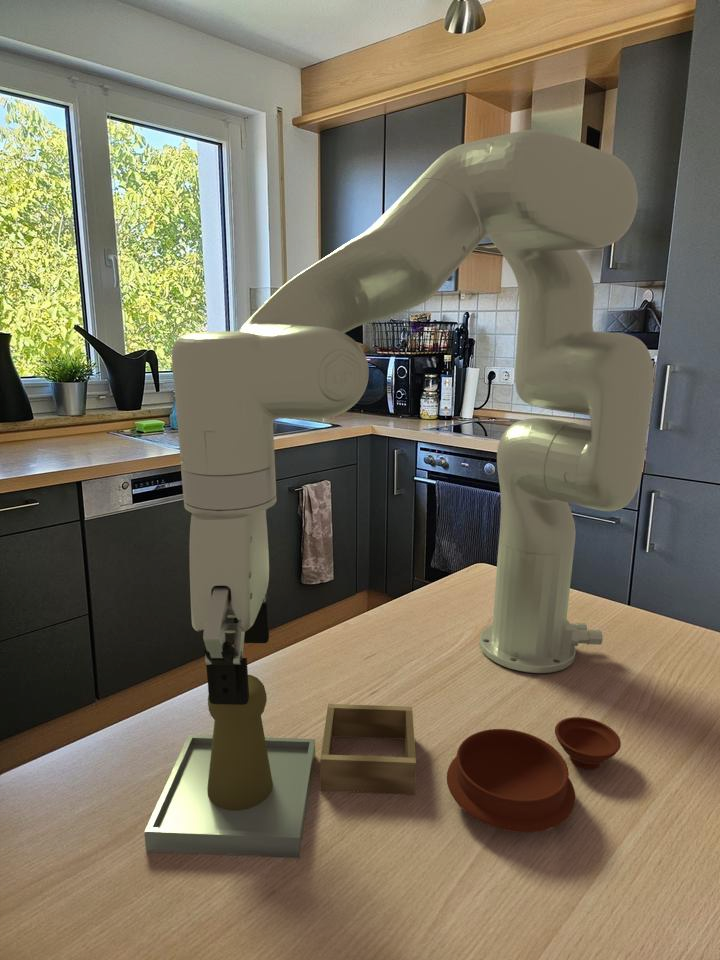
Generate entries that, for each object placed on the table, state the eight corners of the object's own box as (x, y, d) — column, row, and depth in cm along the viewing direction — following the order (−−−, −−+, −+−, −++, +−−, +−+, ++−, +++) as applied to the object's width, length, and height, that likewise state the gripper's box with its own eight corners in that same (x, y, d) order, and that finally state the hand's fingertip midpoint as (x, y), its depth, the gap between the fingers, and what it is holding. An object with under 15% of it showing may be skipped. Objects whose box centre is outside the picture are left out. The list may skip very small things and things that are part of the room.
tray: (315, 756, 68) (315, 739, 67) (299, 857, 55) (299, 838, 55) (189, 751, 68) (188, 734, 68) (146, 851, 56) (144, 831, 55)
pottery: (420, 788, 64) (422, 748, 63) (560, 722, 74) (563, 687, 73) (509, 873, 54) (513, 828, 53) (654, 783, 65) (660, 744, 64)
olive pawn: (260, 815, 58) (257, 705, 55) (196, 804, 59) (190, 696, 56) (281, 770, 64) (279, 668, 61) (222, 761, 65) (218, 661, 62)
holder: (410, 735, 71) (412, 706, 71) (414, 794, 63) (416, 762, 62) (327, 732, 72) (328, 703, 71) (320, 790, 63) (320, 759, 62)
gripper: (211, 460, 63) (222, 622, 67) (148, 520, 46) (170, 731, 51) (289, 460, 62) (296, 623, 67) (255, 521, 46) (267, 732, 50)
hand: (241, 669), depth 59 cm, fingers open, 9 cm apart
